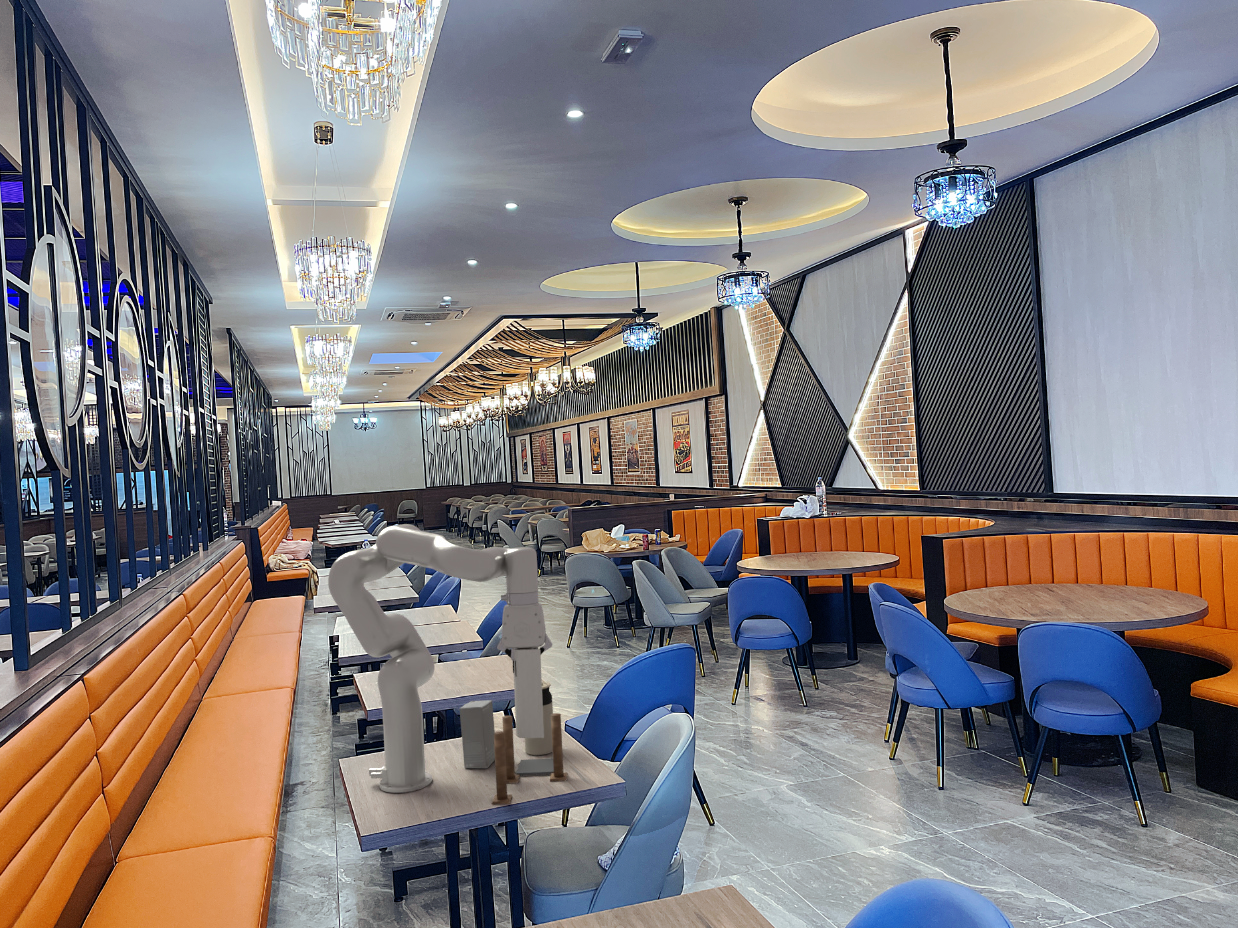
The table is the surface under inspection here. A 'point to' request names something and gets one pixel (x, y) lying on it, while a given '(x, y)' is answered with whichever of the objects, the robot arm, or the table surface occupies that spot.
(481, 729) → the skincare box
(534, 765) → the mat
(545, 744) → the travel mug
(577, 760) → the table surface
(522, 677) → the paper towel roll
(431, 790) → the table surface
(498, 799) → the post
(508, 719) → the post
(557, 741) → the post
